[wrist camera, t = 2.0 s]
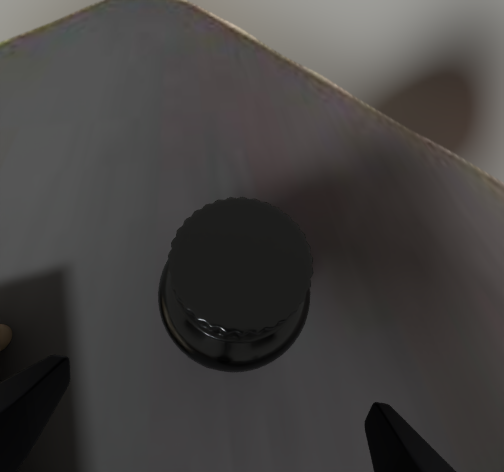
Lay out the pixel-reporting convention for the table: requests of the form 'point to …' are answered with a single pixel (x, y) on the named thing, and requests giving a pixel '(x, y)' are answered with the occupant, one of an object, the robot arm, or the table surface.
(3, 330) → the small stand
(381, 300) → the table surface
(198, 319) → the supplement bottle
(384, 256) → the table surface
